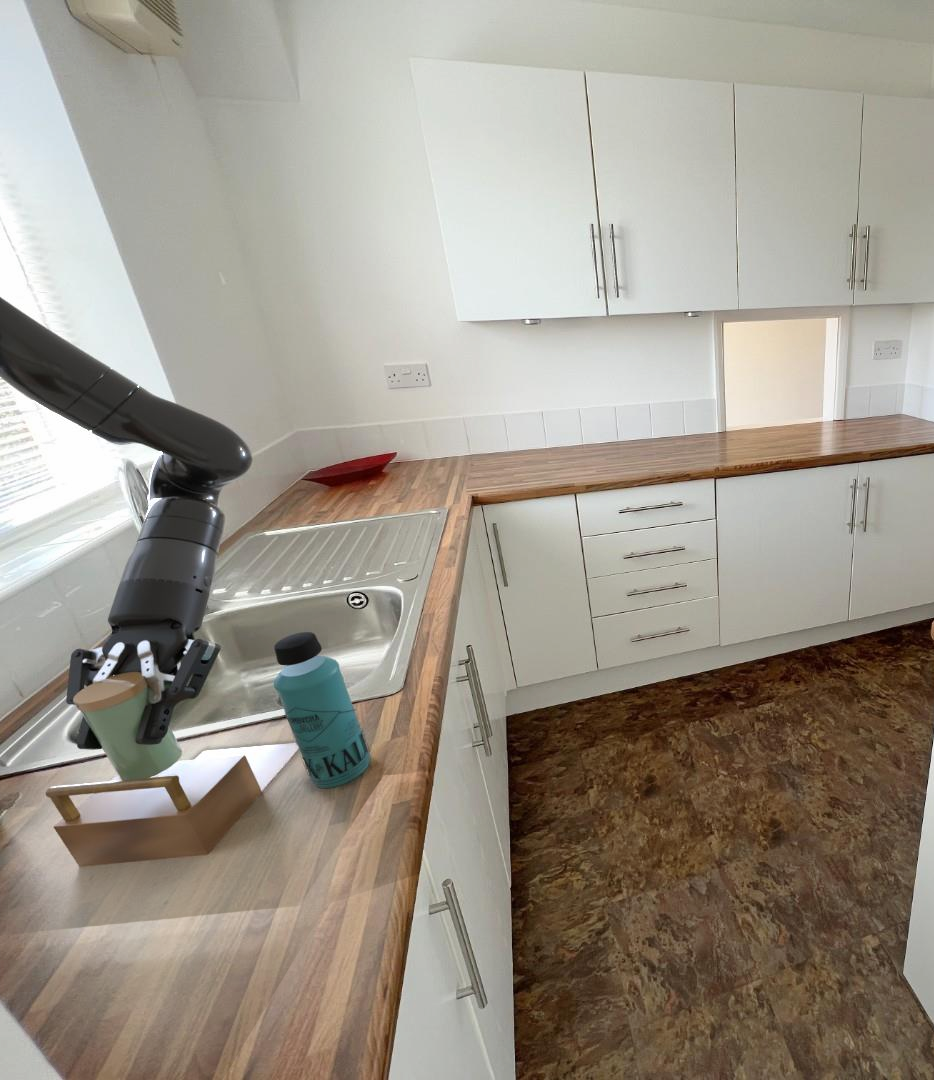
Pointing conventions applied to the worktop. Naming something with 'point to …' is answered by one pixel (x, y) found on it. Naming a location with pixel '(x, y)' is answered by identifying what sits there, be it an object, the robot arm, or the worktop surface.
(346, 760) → the beverage bottle
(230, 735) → the worktop surface
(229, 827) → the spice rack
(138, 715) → the spice jar
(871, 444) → the worktop surface
